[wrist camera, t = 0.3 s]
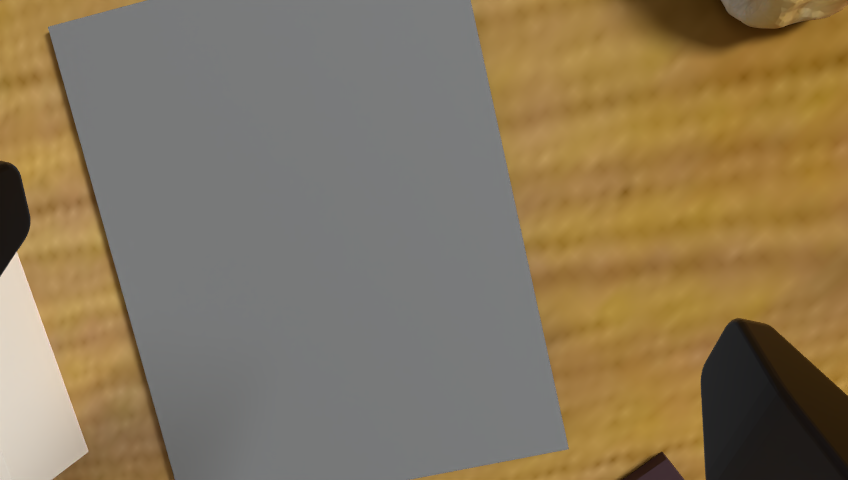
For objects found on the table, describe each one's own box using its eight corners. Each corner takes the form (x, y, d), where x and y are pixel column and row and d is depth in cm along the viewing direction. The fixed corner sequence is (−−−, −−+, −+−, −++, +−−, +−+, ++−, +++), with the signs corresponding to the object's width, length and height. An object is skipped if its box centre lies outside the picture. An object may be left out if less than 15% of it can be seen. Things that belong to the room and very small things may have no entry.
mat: (567, 444, 23) (568, 449, 23) (191, 516, 25) (186, 522, 24) (452, -78, 22) (452, -82, 21) (55, 29, 23) (47, 26, 23)
